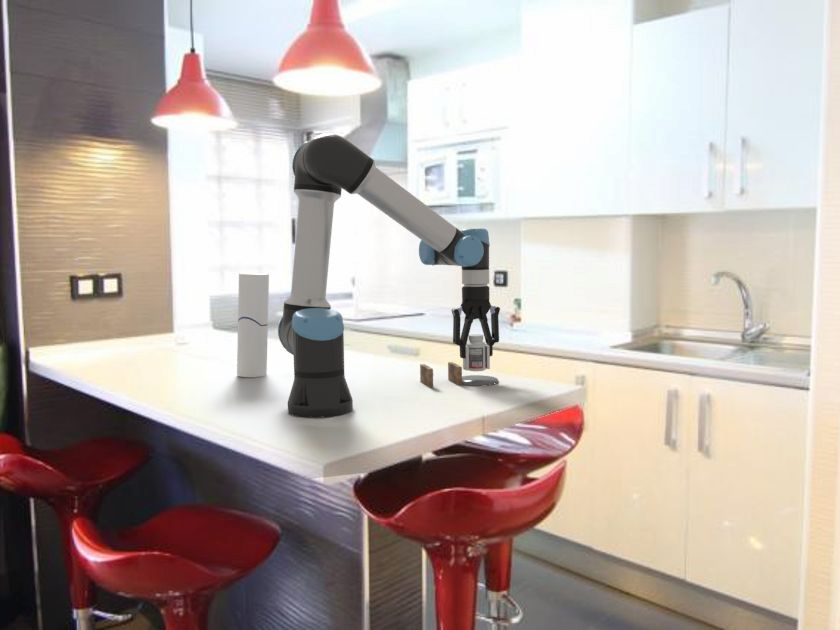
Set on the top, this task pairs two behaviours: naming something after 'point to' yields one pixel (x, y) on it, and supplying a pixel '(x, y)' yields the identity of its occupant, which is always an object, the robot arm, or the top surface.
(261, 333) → the container
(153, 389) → the top surface
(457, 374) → the cradle
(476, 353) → the pill bottle
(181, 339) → the top surface
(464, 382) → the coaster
